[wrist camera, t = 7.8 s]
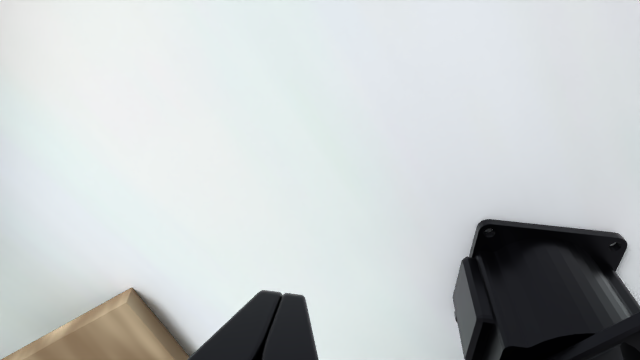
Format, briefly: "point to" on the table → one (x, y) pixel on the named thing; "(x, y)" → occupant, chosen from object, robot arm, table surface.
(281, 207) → the table surface
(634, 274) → the table surface
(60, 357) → the square wooden board
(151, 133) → the table surface
